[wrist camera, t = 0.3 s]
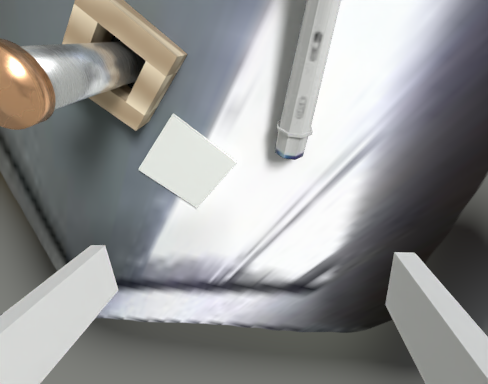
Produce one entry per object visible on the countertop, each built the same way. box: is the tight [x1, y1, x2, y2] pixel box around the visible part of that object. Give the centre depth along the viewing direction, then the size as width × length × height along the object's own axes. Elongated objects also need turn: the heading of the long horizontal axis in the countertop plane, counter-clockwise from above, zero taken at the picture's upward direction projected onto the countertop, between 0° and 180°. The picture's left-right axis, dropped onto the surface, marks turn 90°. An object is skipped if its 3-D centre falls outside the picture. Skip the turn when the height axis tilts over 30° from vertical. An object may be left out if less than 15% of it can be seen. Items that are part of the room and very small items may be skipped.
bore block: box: [62, 0, 187, 131], centre depth 29 cm, size 11×11×4 cm
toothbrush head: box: [275, 0, 341, 160], centre depth 27 cm, size 5×7×25 cm
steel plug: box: [0, 39, 146, 130], centre depth 23 cm, size 5×5×18 cm
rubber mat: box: [138, 114, 237, 208], centre depth 38 cm, size 11×11×1 cm
